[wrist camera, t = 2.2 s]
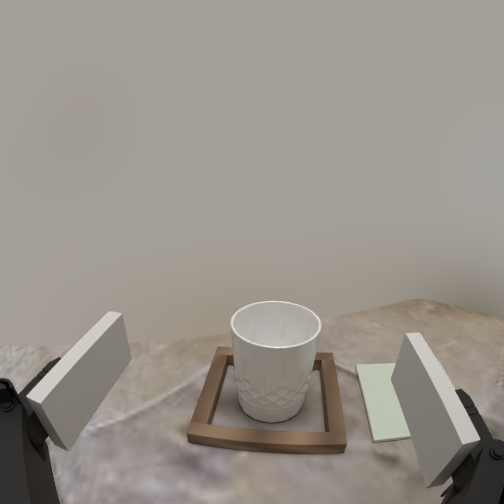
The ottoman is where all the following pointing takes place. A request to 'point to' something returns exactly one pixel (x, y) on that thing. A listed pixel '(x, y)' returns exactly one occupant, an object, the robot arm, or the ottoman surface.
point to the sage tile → (383, 402)
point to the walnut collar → (264, 439)
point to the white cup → (273, 357)
